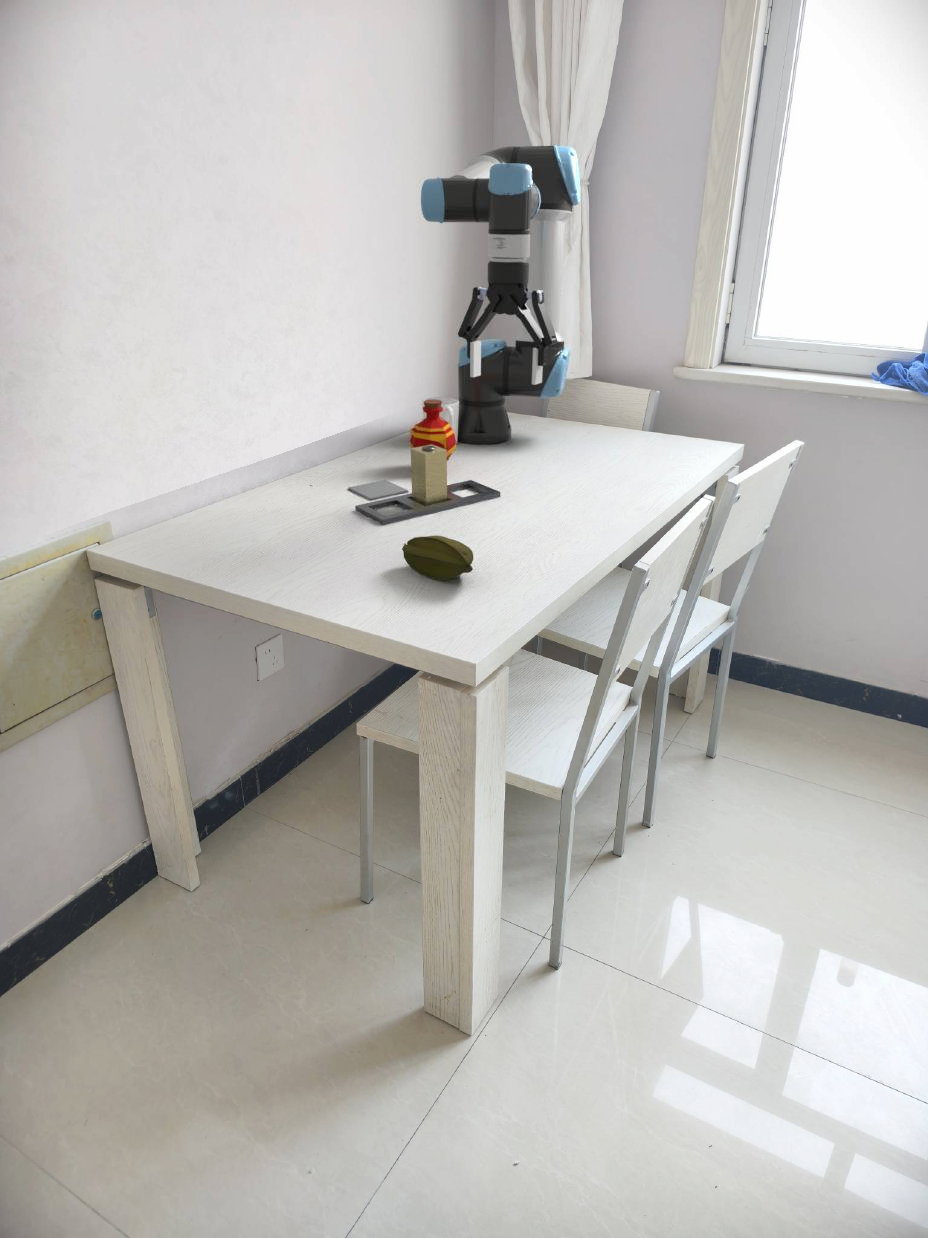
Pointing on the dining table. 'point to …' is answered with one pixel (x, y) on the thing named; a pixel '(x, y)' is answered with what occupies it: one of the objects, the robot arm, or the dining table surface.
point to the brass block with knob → (429, 474)
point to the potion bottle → (433, 429)
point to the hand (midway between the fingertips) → (505, 379)
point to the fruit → (438, 557)
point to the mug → (448, 412)
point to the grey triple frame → (419, 509)
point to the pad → (378, 489)
